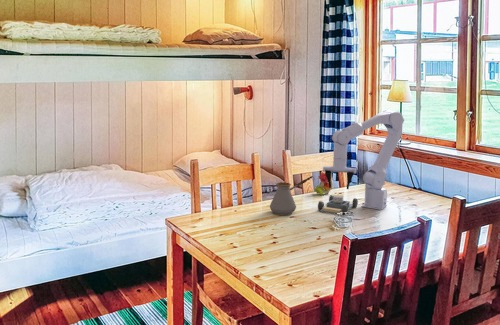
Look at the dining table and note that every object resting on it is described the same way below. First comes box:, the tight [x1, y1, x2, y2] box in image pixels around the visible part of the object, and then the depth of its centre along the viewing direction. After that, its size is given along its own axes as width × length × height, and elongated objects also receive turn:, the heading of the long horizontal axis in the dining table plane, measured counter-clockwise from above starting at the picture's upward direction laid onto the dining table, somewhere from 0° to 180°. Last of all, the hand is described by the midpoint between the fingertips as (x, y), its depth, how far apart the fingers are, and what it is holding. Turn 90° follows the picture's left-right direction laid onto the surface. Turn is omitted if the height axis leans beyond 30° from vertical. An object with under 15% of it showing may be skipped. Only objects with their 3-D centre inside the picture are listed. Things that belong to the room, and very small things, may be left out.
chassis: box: [317, 194, 359, 215], centre depth 226 cm, size 18×12×4 cm
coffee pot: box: [269, 175, 316, 216], centre depth 220 cm, size 21×12×15 cm, turn 117°
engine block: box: [333, 194, 344, 205], centre depth 226 cm, size 4×4×5 cm
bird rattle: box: [313, 171, 333, 196], centre depth 252 cm, size 6×11×9 cm
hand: (338, 188), depth 225 cm, fingers open, 7 cm apart
